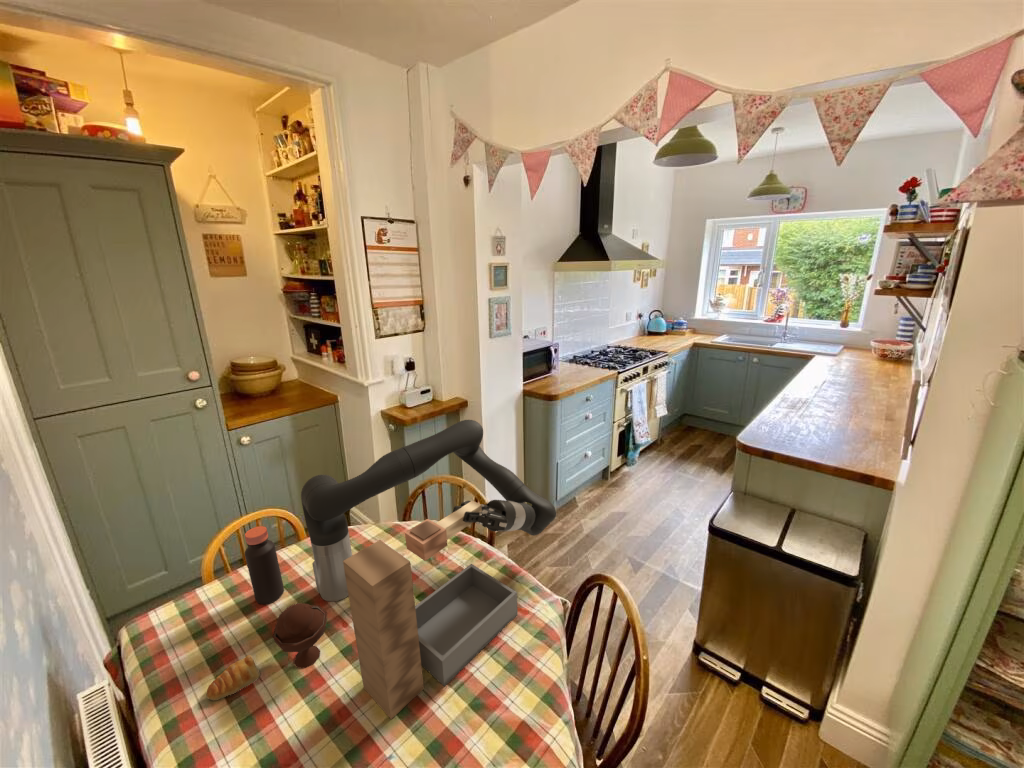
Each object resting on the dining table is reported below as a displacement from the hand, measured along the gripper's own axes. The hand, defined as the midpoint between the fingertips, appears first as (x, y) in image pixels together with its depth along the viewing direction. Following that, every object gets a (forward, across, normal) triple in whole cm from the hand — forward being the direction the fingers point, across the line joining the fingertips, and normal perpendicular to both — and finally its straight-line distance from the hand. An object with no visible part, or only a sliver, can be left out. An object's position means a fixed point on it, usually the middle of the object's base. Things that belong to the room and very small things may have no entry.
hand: (459, 514), depth 95 cm
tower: (+3, 0, +38) cm, 38 cm away
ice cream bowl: (+10, -22, +42) cm, 48 cm away
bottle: (+8, -48, +41) cm, 63 cm away
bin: (-13, 0, +28) cm, 31 cm away
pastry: (+21, -27, +48) cm, 59 cm away
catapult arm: (+2, 0, +4) cm, 5 cm away
